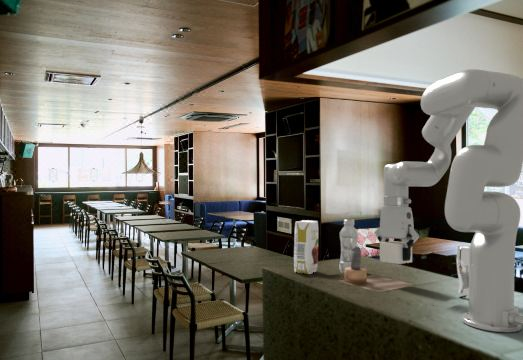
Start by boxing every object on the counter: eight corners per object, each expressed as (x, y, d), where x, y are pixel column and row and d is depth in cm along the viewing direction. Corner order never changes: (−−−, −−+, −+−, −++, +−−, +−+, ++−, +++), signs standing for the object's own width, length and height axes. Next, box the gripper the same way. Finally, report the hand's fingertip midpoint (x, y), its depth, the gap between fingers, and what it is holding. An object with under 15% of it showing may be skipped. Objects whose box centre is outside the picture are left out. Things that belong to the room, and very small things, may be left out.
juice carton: (291, 272, 158) (292, 221, 159) (300, 269, 166) (302, 219, 166) (310, 275, 155) (311, 222, 155) (319, 271, 162) (320, 220, 162)
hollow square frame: (412, 262, 136) (412, 243, 136) (398, 264, 131) (398, 244, 132) (393, 259, 141) (393, 241, 141) (379, 261, 137) (379, 242, 137)
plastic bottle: (357, 276, 154) (358, 220, 154) (338, 275, 155) (339, 220, 156) (357, 273, 160) (358, 219, 161) (339, 271, 162) (340, 218, 162)
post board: (415, 289, 136) (416, 248, 136) (378, 297, 126) (379, 252, 126) (372, 279, 150) (373, 242, 150) (336, 285, 139) (337, 245, 139)
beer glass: (472, 302, 123) (473, 249, 123) (450, 296, 129) (451, 246, 129) (486, 299, 126) (487, 248, 127) (464, 293, 132) (465, 245, 132)
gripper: (427, 203, 132) (427, 261, 132) (381, 202, 146) (381, 254, 146) (412, 203, 128) (412, 263, 127) (366, 202, 142) (366, 256, 141)
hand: (395, 258), depth 136 cm, fingers closed on hollow square frame, 7 cm apart
